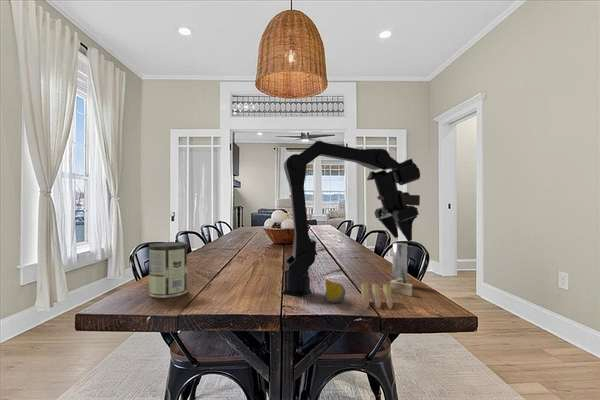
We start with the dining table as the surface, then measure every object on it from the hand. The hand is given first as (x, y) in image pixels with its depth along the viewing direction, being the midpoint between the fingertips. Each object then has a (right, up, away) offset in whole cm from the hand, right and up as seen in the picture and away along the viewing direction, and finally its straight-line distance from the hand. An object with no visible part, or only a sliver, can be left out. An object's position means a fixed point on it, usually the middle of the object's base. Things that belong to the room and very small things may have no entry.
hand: (403, 239), depth 109 cm
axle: (0, -15, +5) cm, 16 cm away
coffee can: (-69, -15, -6) cm, 71 cm away
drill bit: (-22, -15, -15) cm, 31 cm away
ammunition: (-11, -15, -16) cm, 25 cm away
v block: (-2, -15, -3) cm, 16 cm away
